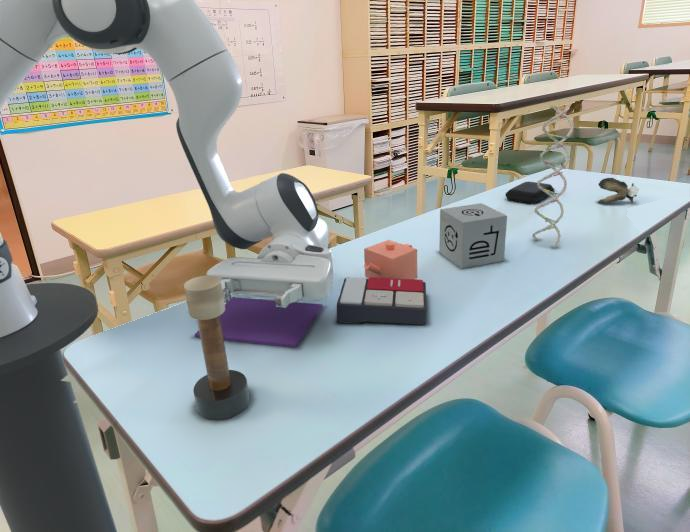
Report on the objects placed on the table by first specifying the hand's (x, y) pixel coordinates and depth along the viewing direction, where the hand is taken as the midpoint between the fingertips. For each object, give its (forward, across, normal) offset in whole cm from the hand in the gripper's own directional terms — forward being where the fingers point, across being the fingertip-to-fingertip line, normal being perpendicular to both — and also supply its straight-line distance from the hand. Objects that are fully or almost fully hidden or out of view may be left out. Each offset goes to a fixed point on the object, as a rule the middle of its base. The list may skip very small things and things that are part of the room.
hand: (250, 300), depth 76 cm
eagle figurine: (-91, +67, +10) cm, 113 cm away
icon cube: (-46, +30, +10) cm, 56 cm away
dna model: (-56, +46, +10) cm, 73 cm away
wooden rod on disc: (+11, 0, +10) cm, 15 cm away
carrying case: (-94, +45, +10) cm, 104 cm away
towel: (-11, -4, +10) cm, 15 cm away
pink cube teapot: (-30, +15, +10) cm, 35 cm away
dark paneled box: (-19, +16, +10) cm, 26 cm away
